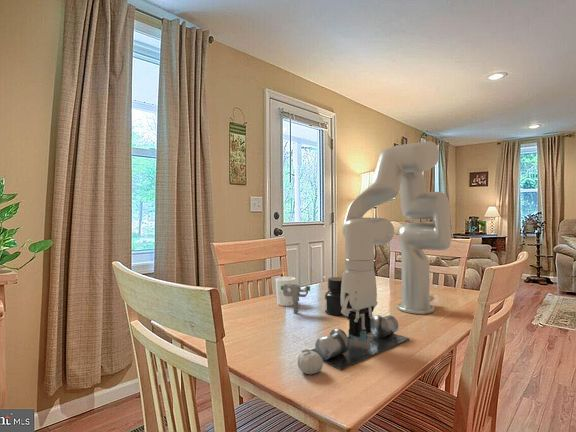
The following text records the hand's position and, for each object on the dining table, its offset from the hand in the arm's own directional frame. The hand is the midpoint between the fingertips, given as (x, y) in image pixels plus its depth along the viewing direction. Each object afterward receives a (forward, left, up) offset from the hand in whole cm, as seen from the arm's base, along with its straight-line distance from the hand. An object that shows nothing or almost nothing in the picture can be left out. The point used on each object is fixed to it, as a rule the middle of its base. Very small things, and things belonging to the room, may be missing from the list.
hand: (360, 333), depth 92 cm
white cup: (-11, -46, -4) cm, 47 cm away
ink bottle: (-18, -25, -4) cm, 31 cm away
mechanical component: (-6, -34, -4) cm, 35 cm away
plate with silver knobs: (0, 0, -4) cm, 4 cm away
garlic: (+20, +2, -4) cm, 21 cm away
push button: (0, 0, -2) cm, 2 cm away
